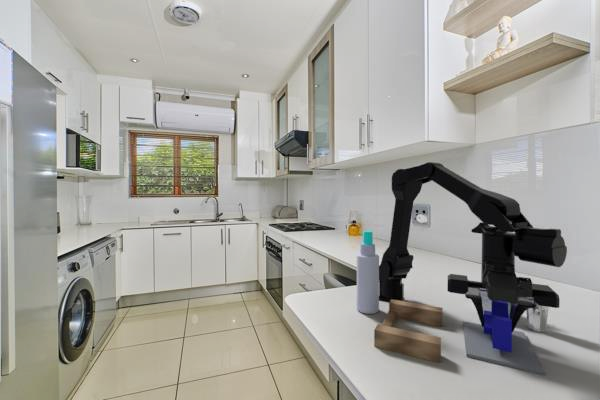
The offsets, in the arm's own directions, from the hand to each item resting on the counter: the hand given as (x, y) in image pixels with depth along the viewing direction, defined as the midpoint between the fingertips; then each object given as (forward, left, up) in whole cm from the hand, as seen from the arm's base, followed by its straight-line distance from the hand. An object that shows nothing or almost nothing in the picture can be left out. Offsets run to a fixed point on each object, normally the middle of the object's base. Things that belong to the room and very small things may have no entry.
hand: (496, 328), depth 59 cm
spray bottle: (-29, +5, -4) cm, 30 cm away
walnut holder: (-17, -3, -3) cm, 17 cm away
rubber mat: (0, 0, -3) cm, 3 cm away
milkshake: (+9, +13, -4) cm, 16 cm away
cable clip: (0, 0, -2) cm, 2 cm away
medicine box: (+2, +18, -4) cm, 18 cm away
